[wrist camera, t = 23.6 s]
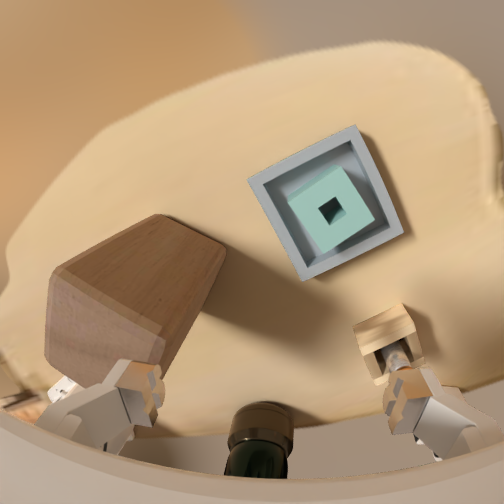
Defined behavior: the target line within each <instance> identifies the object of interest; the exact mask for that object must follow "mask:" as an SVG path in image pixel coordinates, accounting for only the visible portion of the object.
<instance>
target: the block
mask: <svg viewBox="0 0 504 504" xmlns="http://www.w3.org/2000/svg"><path fill="white" fill-rule="evenodd" d="M225 257H226V248H225V247H224V246H223V245H222V244H220V243H218V242H216V241H214V240H212V239H210V238H208V237H205V236H203V235H201V234H199V233H197V232H195V231H193V230H191V229H189V228H187V227H185V226H183V225H181V224H179V223H177V222H175V221H173V220H171V219H169V218H167V217H165V216H163V215H161V214H154V215H152V216H150V217H148V218H146V219H144V220H142V221H140V222H138V223H136V224H135V225H133V226H131V227H129V228H127V229H125V230H123V231H121V232H119V233H117V234H115V235H113V236H112V237H110V238H108V239H106V240H104V241H102V242H100V243H99V244H97V245H95V246H93V247H91V248H90V249H88V250H86V251H84V252H82V253H81V254H79V255H77V256H75V257H73V258H72V259H70V260H68V261H67V262H65V263H63V264H61V265H60V266H58V267H56V269H55V270H54V271H53V273H52V275H51V277H50V279H49V287H48V297H47V309H46V324H45V354H44V355H45V358H46V360H47V361H48V362H49V364H50V365H51V366H52V367H54V368H55V369H57V370H58V371H59V372H61V373H62V374H64V375H65V376H67V377H68V378H70V379H71V380H73V381H74V382H76V383H77V384H79V385H80V386H82V387H83V388H85V389H87V388H89V387H91V386H93V385H95V384H97V383H99V384H102V382H103V381H104V380H105V378H106V377H107V375H108V374H109V372H110V371H111V370H112V368H113V367H114V365H115V364H116V363H117V361H118V360H119V359H121V358H124V359H129V360H136V361H142V362H147V363H154V364H158V365H160V367H161V371H162V374H161V376H160V379H161V380H162V379H163V378H164V376H165V374H166V372H167V370H168V368H169V367H170V365H171V363H172V361H173V359H174V357H175V356H176V354H177V352H178V350H179V348H180V347H181V345H182V343H183V341H184V339H185V338H186V336H187V334H188V332H189V330H190V329H191V327H192V325H193V323H194V321H195V320H196V318H197V316H198V314H199V312H200V311H201V309H202V307H203V304H204V302H205V300H206V298H207V296H208V294H209V291H210V289H211V287H212V285H213V283H214V281H215V279H216V276H217V274H218V272H219V270H220V268H221V266H222V264H223V262H224V259H225Z"/></svg>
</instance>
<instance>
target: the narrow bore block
mask: <svg viewBox="0 0 504 504" xmlns="http://www.w3.org/2000/svg"><path fill="white" fill-rule="evenodd" d="M332 198H335V200H336V201H337V203H338V204H339V206H337V207H336V208H334V209H333V210H331V211H330V212H328V213H327V214H325V215H324V214H323V213H322V211H321V210H320V208H319V207H320V206H322V205H323V204H325V203H326V202H328V201H329V200H331V199H332ZM288 204H289V205H290V207H291V208H292V210H293V211H294V212H295V214H296V215H297V217H298V218H299V219H300V221H301V222H302V224H303V225H304V227H305V228H306V229H307V231H308V232H309V234H310V235H311V237H312V238H313V240H314V241H315V242H316V244H317V245H318V247H319V248H320V250H321V251H322V253H323V254H324V253H326V252H327V251H329V250H330V249H332V248H333V247H335V246H337V245H338V244H340V243H341V242H343V241H344V240H346V239H347V238H349V237H350V236H352V235H353V234H355V233H356V232H358V231H359V230H361V229H362V228H364V227H365V226H367V225H368V224H370V223H371V222H373V221H374V220H375V219H374V217H373V216H372V214H371V212H370V211H369V209H368V207H367V206H366V204H365V203H364V201H363V199H362V198H361V196H360V195H359V193H358V191H357V190H356V188H355V187H354V185H353V184H352V182H351V181H350V179H349V177H348V176H347V174H346V173H345V171H344V170H343V168H342V167H341V166H338V165H334V164H333V165H332V166H331V167H329V168H328V169H326V170H325V171H323V172H322V173H320V174H319V175H317V176H316V177H314V178H313V179H311V180H310V181H308V182H307V183H306V184H304V185H303V186H301V187H300V188H298V189H297V190H295V191H294V192H292V193H291V194H290V195H288Z"/></svg>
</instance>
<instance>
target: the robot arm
mask: <svg viewBox="0 0 504 504" xmlns="http://www.w3.org/2000/svg"><path fill="white" fill-rule="evenodd" d="M161 374H162V371H161V367H160V365H158V364H154V363H147V362H142V361H136V360H129V359H124V358H121V359H119V360H118V361H117V363H116V364H115V365H114V367H113V368H112V370H111V371H110V372H109V374H108V375H107V377H106V378H105V380H104V381H103V382H102V384H99V383H97V384H95V385H93V386H91V387H89V388H87V389H85V388H83V387H82V386H80V385H79V384H77V383H76V382H74V381H73V380H71V379H70V378H68V377H67V376H65V375H64V376H63V377H62V378H61V379H60V380H59V381H58V382H57V383H56V384H55V385H53V386H52V387H51V388H50V389H49V391H48V396H49V398H50V400H51V401H52V403H51V405H49V406H48V407H47V408H46V410H45V411H44V412H43V413H42V415H41V416H40V417H39V419H38V420H37V421H36V423H35V424H34V425H33V424H30V423H28V422H26V421H24V420H22V419H20V418H18V417H16V416H14V415H12V414H10V413H8V412H6V411H4V410H2V409H0V504H504V434H503V433H502V431H501V429H500V428H499V426H498V424H497V423H496V421H495V419H493V418H491V417H490V416H488V415H486V414H484V413H483V412H481V411H479V410H477V409H476V408H474V407H472V406H470V405H469V404H467V403H465V402H463V401H462V400H460V399H458V398H456V397H455V396H453V395H451V394H446V393H445V391H444V389H443V388H442V386H441V384H440V383H439V381H438V379H437V377H436V376H435V374H434V372H433V371H432V369H431V368H430V367H423V368H417V369H409V370H399V371H392V372H391V373H390V376H389V379H388V381H389V383H390V385H389V386H388V387H387V388H386V389H385V391H384V395H383V409H384V412H385V414H387V415H388V416H390V418H389V420H388V424H389V427H390V430H391V433H392V435H395V434H404V433H411V432H413V434H414V435H415V436H416V437H418V438H419V439H420V440H421V441H422V442H423V443H424V444H425V445H427V446H428V447H429V448H430V449H431V450H432V451H433V452H434V453H435V454H436V455H438V456H439V457H440V458H441V459H442V461H438V462H434V463H430V464H425V465H421V466H416V467H411V468H406V469H400V470H395V471H388V472H382V473H375V474H368V475H358V476H348V477H336V478H320V479H264V478H246V477H234V476H223V475H214V474H206V473H199V472H192V471H186V470H180V469H174V468H169V467H164V466H159V465H155V464H150V463H146V462H141V461H137V460H133V459H129V458H126V457H122V456H118V453H119V452H120V450H121V449H122V447H123V446H124V444H125V443H126V441H132V440H133V439H134V438H135V434H134V431H133V429H134V426H135V424H136V425H141V426H147V427H153V425H154V423H155V421H156V418H157V416H158V413H157V409H158V408H160V407H161V406H162V404H163V402H164V398H165V385H164V382H163V381H162V380H161V379H160V376H161Z"/></svg>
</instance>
